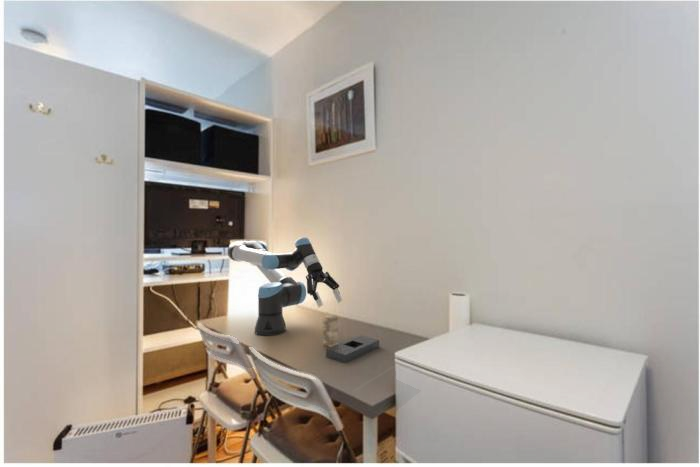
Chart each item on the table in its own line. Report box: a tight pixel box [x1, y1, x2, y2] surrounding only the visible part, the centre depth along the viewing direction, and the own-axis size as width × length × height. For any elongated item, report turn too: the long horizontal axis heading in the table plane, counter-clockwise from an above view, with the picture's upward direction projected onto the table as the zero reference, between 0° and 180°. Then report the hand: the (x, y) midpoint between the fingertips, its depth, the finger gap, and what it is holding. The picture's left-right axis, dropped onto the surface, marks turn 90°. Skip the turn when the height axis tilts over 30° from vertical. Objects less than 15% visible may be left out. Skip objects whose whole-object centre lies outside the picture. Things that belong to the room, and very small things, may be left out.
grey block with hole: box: [325, 335, 380, 364], centre depth 128 cm, size 10×22×3 cm, turn 141°
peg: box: [322, 314, 339, 348], centre depth 137 cm, size 4×4×12 cm
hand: (331, 303), depth 149 cm, fingers open, 13 cm apart
